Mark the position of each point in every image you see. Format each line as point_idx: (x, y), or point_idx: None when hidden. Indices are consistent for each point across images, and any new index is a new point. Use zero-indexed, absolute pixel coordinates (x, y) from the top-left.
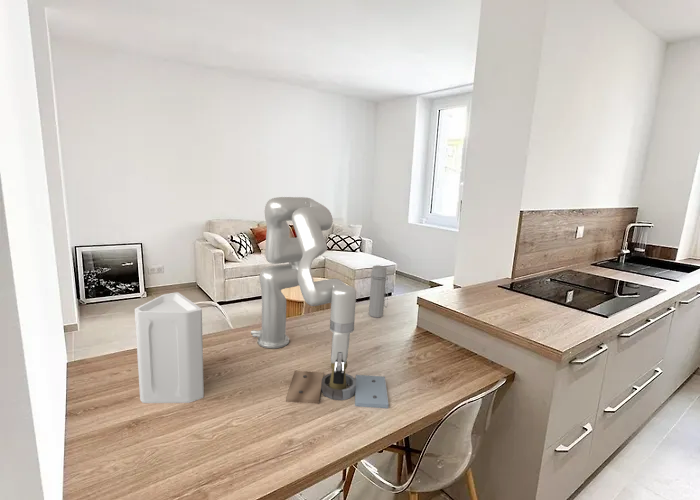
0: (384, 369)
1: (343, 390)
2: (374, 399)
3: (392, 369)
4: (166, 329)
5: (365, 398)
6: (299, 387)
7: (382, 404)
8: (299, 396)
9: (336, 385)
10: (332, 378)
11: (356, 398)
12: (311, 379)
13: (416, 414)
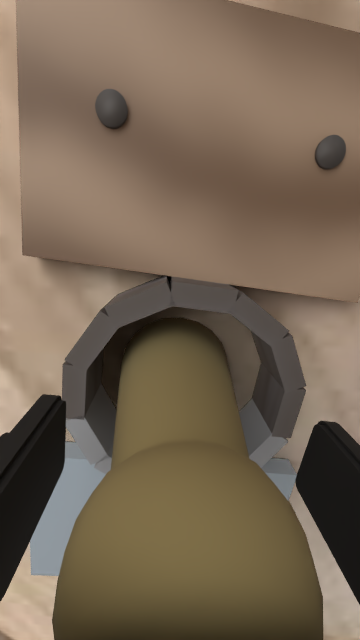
0: (336, 569)
1: (76, 425)
2: (67, 532)
3: (329, 592)
4: None
5: (71, 499)
6: (178, 98)
7: (31, 555)
8: (51, 96)
9: (119, 390)
10: (141, 385)
11: (68, 462)
12: (283, 208)
13: (15, 623)
